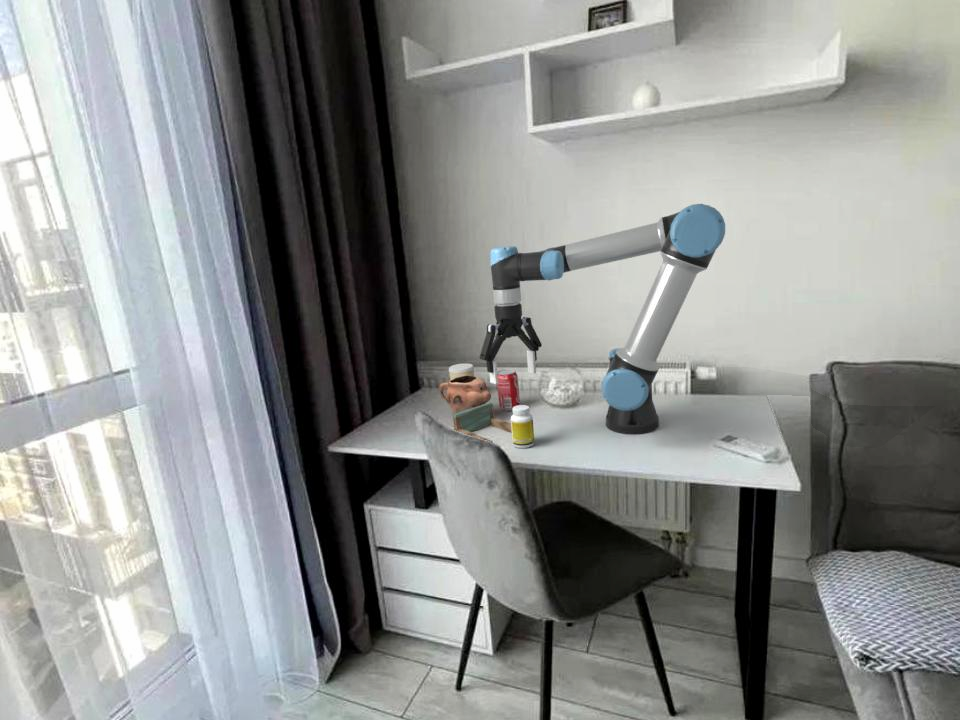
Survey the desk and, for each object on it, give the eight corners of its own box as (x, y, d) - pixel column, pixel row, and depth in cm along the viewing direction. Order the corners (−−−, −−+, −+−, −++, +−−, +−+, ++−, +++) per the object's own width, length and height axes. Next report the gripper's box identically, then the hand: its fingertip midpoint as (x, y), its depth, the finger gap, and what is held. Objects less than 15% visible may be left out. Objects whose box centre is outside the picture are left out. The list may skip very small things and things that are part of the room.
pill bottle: (538, 446, 154) (535, 408, 151) (517, 450, 152) (514, 412, 150) (529, 439, 160) (527, 402, 157) (509, 443, 158) (506, 406, 156)
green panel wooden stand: (526, 435, 162) (524, 413, 161) (488, 449, 154) (486, 427, 153) (491, 422, 176) (489, 402, 174) (454, 435, 168) (452, 414, 166)
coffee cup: (476, 392, 210) (473, 362, 207) (477, 400, 200) (474, 368, 198) (451, 395, 209) (448, 364, 207) (451, 402, 200) (448, 370, 197)
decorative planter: (430, 422, 181) (426, 382, 178) (449, 410, 192) (445, 372, 188) (485, 427, 172) (481, 385, 169) (501, 415, 182) (498, 374, 179)
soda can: (520, 410, 185) (518, 373, 182) (499, 412, 185) (496, 375, 182) (519, 404, 192) (517, 367, 189) (499, 405, 192) (496, 369, 189)
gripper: (533, 296, 162) (538, 366, 167) (462, 309, 149) (469, 385, 154) (550, 298, 156) (555, 370, 161) (477, 311, 143) (485, 390, 148)
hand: (513, 377), depth 157 cm, fingers open, 13 cm apart
